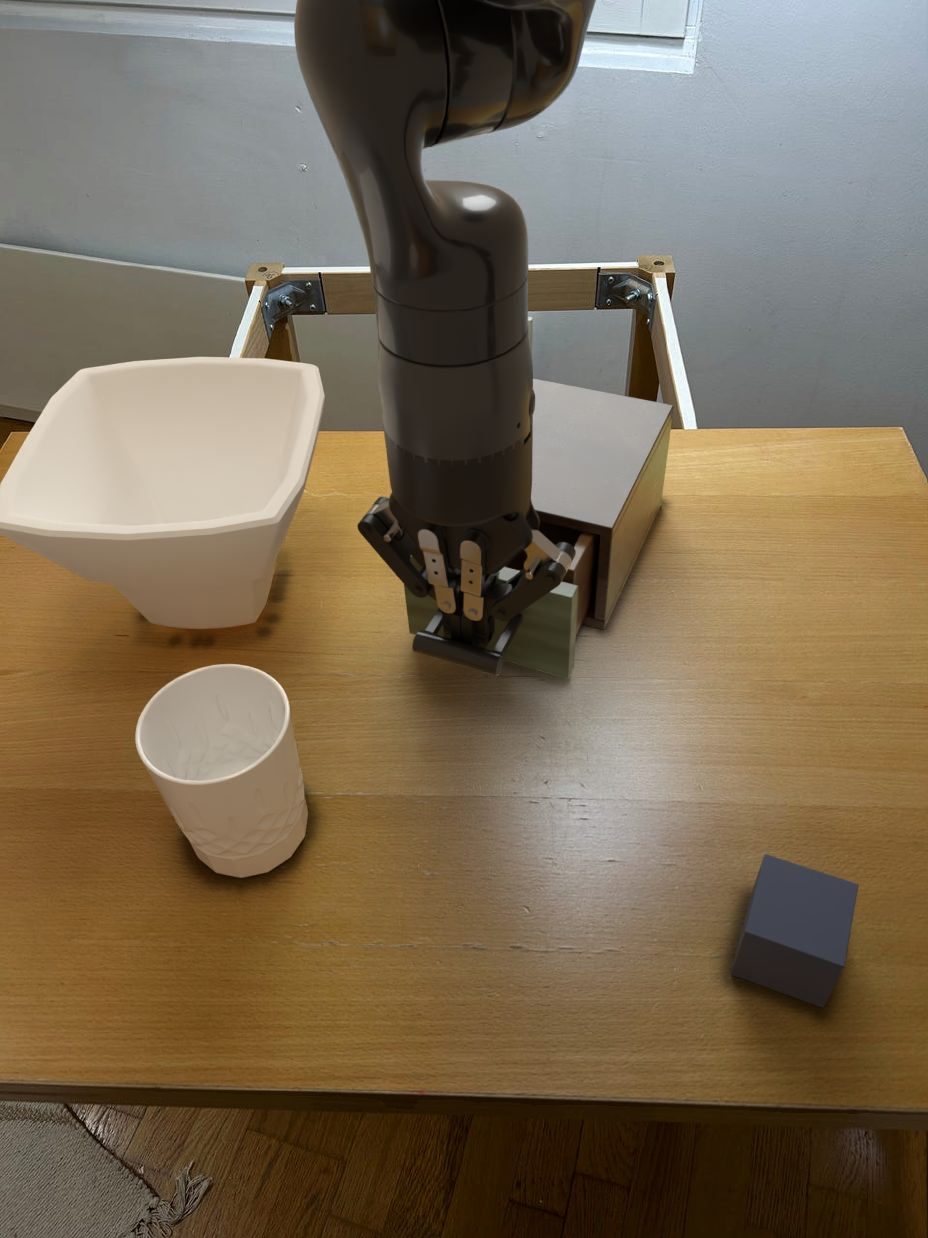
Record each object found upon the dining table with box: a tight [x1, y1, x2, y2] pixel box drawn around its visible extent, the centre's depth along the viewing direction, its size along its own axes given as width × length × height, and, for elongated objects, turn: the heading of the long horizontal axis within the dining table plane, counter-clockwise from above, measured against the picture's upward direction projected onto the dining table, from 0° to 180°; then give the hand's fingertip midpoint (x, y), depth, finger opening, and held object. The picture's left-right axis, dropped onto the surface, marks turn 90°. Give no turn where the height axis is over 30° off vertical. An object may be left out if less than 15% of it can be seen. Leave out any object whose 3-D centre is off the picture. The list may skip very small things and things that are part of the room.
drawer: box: [403, 521, 600, 680], centre depth 65 cm, size 18×11×7 cm, turn 157°
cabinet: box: [531, 377, 675, 631], centre depth 71 cm, size 15×13×9 cm
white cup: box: [134, 663, 309, 879], centre depth 54 cm, size 8×8×10 cm
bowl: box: [0, 356, 326, 630], centre depth 67 cm, size 19×19×14 cm
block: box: [730, 853, 859, 1009], centre depth 49 cm, size 5×5×5 cm
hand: (470, 646), depth 61 cm, fingers closed
